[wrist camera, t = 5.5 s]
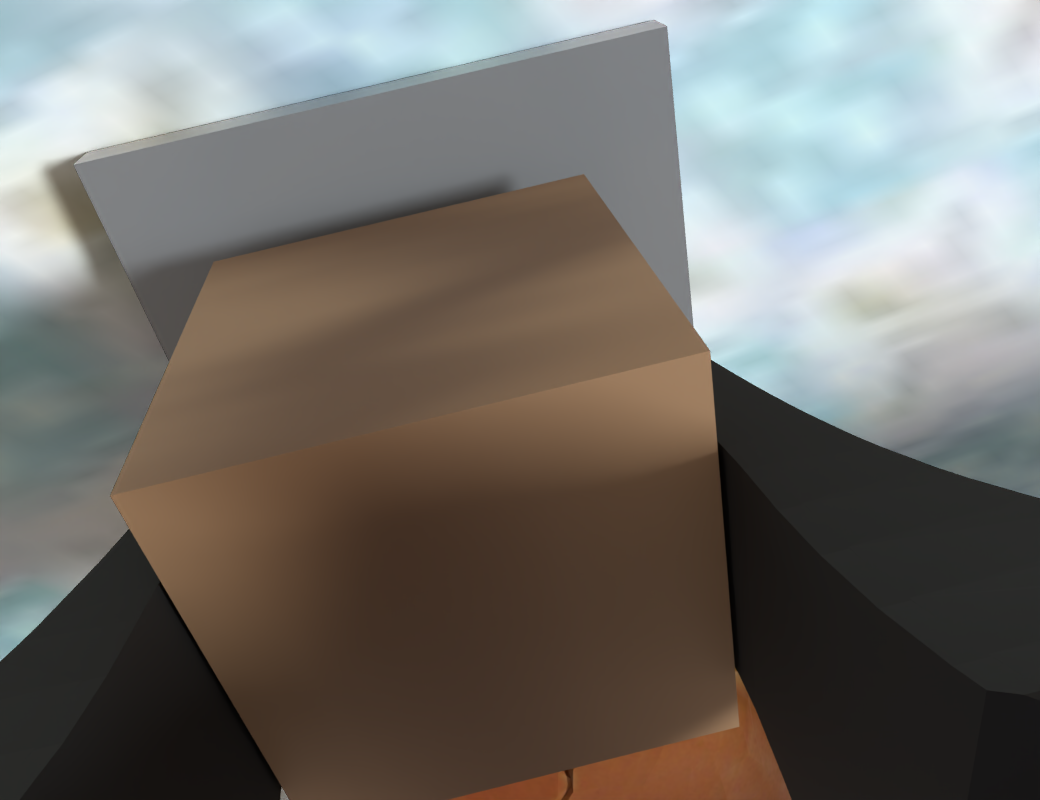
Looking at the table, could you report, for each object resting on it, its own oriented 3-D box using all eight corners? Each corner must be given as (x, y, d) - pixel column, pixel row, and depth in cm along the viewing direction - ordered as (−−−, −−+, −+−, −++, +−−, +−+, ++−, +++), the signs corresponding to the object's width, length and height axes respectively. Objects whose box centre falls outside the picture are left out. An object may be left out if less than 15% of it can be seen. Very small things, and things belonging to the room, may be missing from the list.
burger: (671, 829, 23) (733, 1028, 19) (318, 830, 20) (303, 1056, 16) (812, 549, 18) (935, 736, 14) (371, 512, 16) (368, 721, 12)
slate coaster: (654, 20, 12) (666, 26, 11) (697, 469, 16) (707, 488, 15) (87, 152, 11) (73, 164, 11) (284, 569, 16) (281, 593, 15)
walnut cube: (584, 174, 11) (709, 351, 7) (629, 468, 14) (739, 726, 10) (212, 261, 11) (110, 495, 7) (331, 541, 14) (310, 833, 9)
